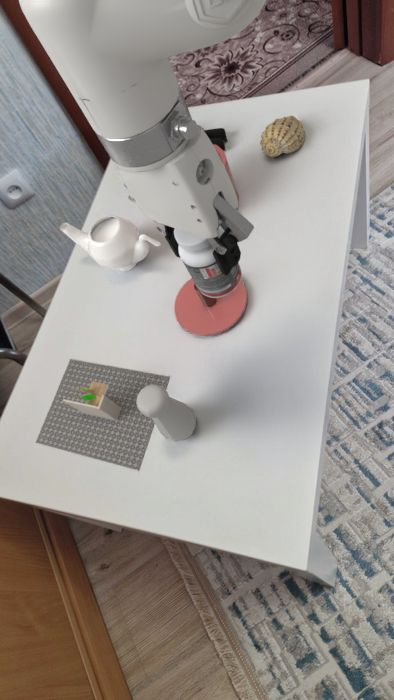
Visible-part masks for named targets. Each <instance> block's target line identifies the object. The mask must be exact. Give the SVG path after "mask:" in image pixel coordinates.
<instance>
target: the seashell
mask: <svg viewBox="0 0 394 700" xmlns="http://www.w3.org/2000/svg"><path fill="white" fill-rule="evenodd" d="M306 134H307V133H306V129H305V126H304V125H303V123H302V122H301V120H300V119H298V118H297V117H295V116H294V115H288V116H283V117H281V118H276V119H274V121H272V122H271V123H269V124H268V125H266V127H265V129H264V131H263V132H262V134H261V135H260V138H261V139H260V142H259V144H260V146H261V151H262V153H263V154H265V155H266V156H267V157H268V158H271V159H272V158H273V159H274V158H277V157H279V156H280V155H281V154H283V153H284V154H286V155H287V154H291V153H295V152H296V151H297V150H299V149H300V148H301V147H302V145H303V144H304V142H305V140H306Z"/></svg>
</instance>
